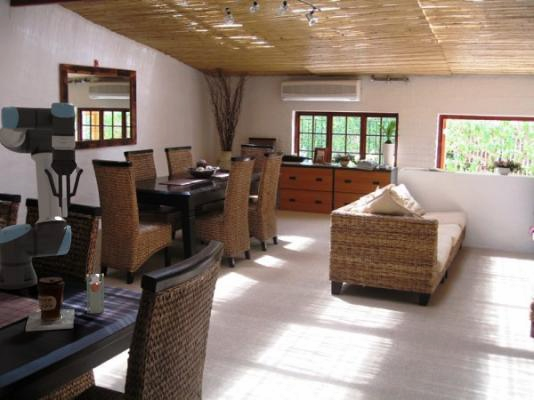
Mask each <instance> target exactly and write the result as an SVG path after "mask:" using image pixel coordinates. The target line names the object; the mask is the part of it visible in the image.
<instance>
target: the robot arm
mask: <svg viewBox="0 0 534 400" xmlns="http://www.w3.org/2000/svg"><path fill="white" fill-rule="evenodd" d="M0 111H1V112H0V119H1V120H0V121H1V128H0V145H2V146H3V147H4V148H5V149H7V150H8V151H11V152H14V153H16V154H17V153H18V154H29V155H30V158H31V160H32V161H34V162H35V172H36V173H35V177H36V190H37V205H38V206H37V207H38V220H37V221H36V222H35V227H32V226H31V224H29V223H23V224H22V223H20V224H12V225H10V226H6V227H3V228H1V229H0V289H1V290H21V289H22V290H23V289H27V288H31V287H34V286H36V285H37V284H38V277H37V273H36V271H35V269H34V266H33V263H32V262H33V260H32V258H39V257H50V256H61V255H66V254H68V252H69V250H70V248H71V242H72V228H71V225H69V224H67V220H66V219H65V218H67V217H68V208H70V207H71V202H72V201H71V198H73V197H75V196H76V195H77V191H78V187H79V182H80V178H81V176H82V174H83V173H84V168H81V167H80V166H79V165H78V164H77V162H76V149H75V148H76V124H75V123H76V112H75V105H74V103H71V102H70V103H69V102H53V103H51V106H50V107H23V106H21V107H20V106H13V105H12V106H4V107H2V109H1V110H0ZM74 171H75V173H76V176H75V181H74V183H73V188H72V191H71V175H72V174H73V173H74ZM63 176H65V182H66V184H65V185H66V186H65V187H66V193H65V194H66V196H64V195H63V193H64V192H63V191H64V190H63V188H64V187H63ZM63 196H64V197H63Z"/></svg>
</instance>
